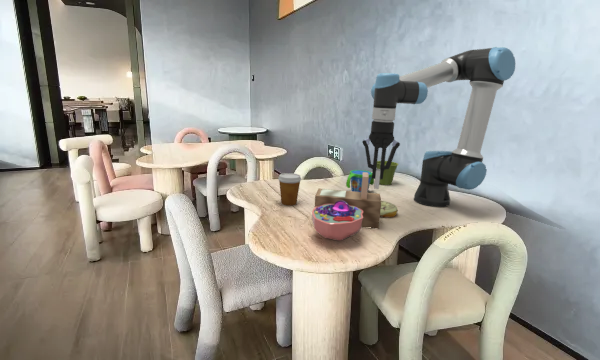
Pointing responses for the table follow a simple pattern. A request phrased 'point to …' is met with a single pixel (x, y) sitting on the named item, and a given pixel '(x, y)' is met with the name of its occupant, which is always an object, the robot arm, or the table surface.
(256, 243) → the table surface
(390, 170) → the plant pot
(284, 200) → the disposable coffee cup
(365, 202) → the block
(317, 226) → the cell model
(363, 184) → the tile
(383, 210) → the decorated donut
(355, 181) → the snack cup
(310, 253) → the table surface
